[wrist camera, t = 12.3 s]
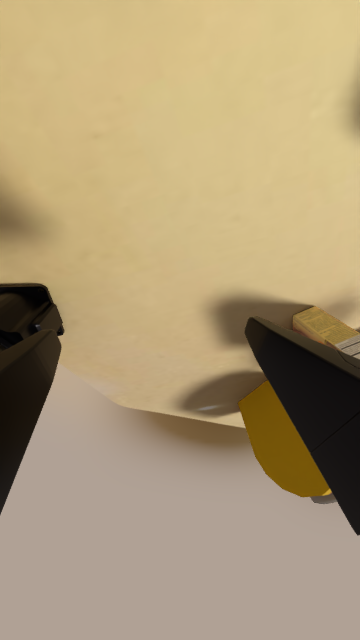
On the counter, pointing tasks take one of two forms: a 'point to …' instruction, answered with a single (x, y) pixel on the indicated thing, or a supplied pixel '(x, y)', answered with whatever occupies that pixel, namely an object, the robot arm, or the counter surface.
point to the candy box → (327, 331)
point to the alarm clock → (281, 446)
